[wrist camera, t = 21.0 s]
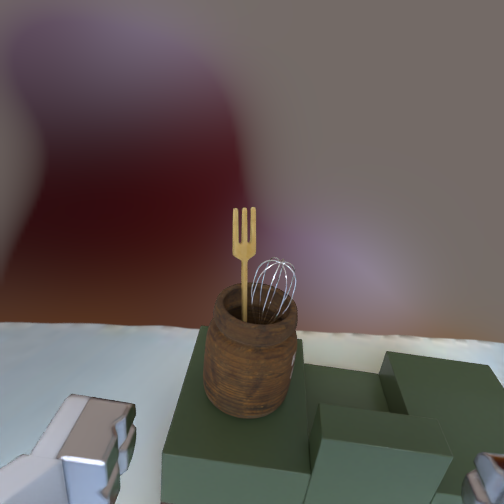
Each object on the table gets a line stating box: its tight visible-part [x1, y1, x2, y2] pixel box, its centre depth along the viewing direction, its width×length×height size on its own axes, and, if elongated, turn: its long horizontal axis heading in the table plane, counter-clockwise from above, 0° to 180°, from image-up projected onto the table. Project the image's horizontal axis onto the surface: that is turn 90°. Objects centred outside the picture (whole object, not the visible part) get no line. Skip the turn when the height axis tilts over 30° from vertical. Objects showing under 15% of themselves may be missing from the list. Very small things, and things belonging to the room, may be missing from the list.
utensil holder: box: [203, 207, 298, 419], centre depth 25 cm, size 6×6×12 cm
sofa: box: [161, 326, 504, 504], centre depth 29 cm, size 24×12×10 cm, turn 86°
